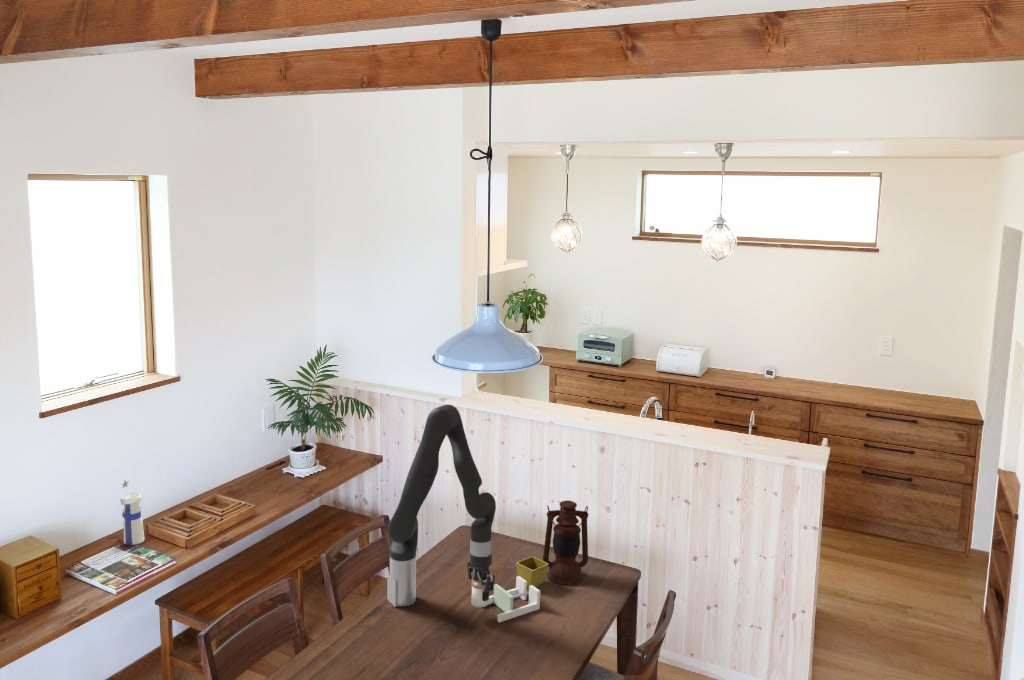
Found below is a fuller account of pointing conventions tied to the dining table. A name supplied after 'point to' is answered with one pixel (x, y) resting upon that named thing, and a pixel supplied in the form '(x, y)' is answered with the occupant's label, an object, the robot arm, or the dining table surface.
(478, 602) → the jar
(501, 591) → the pusher
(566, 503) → the lantern
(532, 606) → the lane
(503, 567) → the dining table surface
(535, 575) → the flower pot
